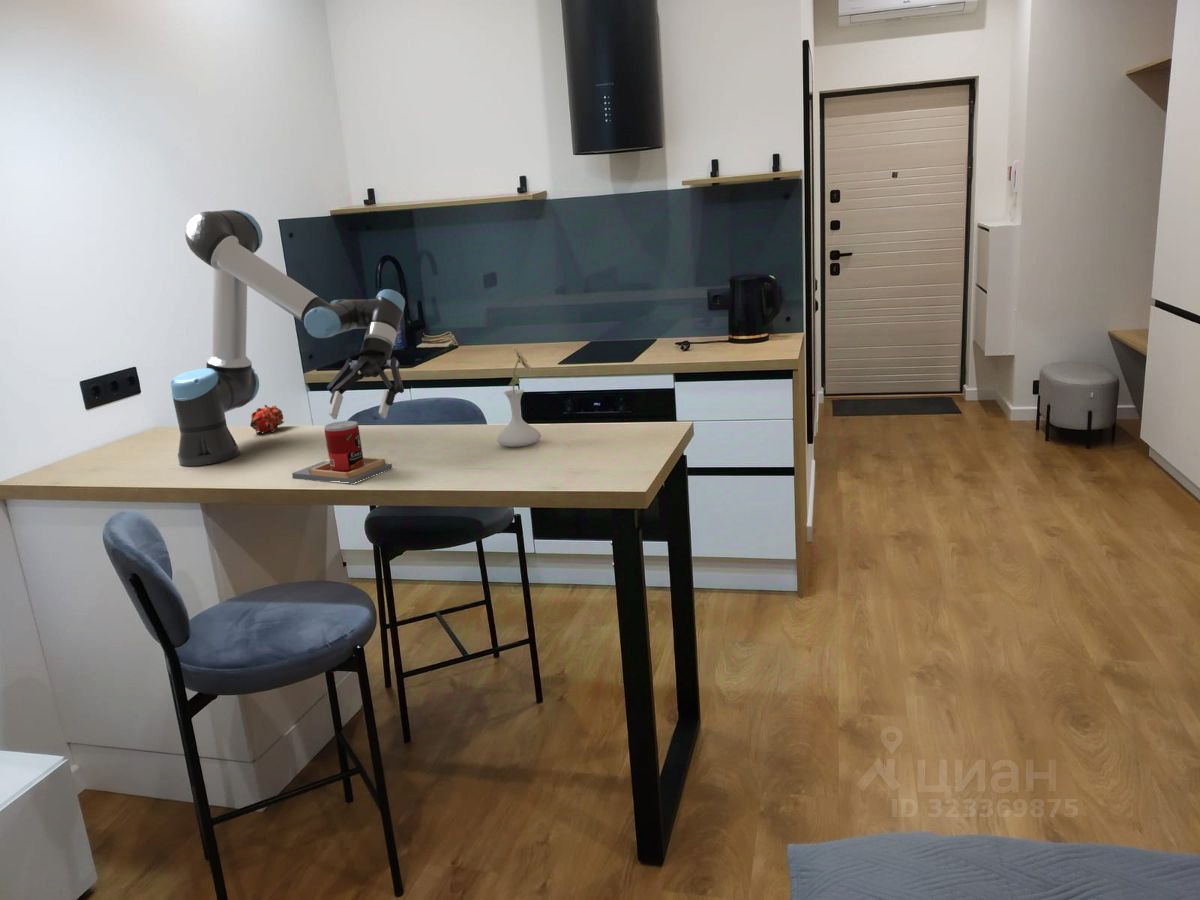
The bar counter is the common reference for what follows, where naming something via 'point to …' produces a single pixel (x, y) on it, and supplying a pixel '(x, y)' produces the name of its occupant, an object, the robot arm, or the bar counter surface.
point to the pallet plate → (325, 472)
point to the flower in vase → (517, 415)
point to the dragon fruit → (266, 419)
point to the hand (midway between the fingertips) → (357, 416)
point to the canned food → (344, 446)
